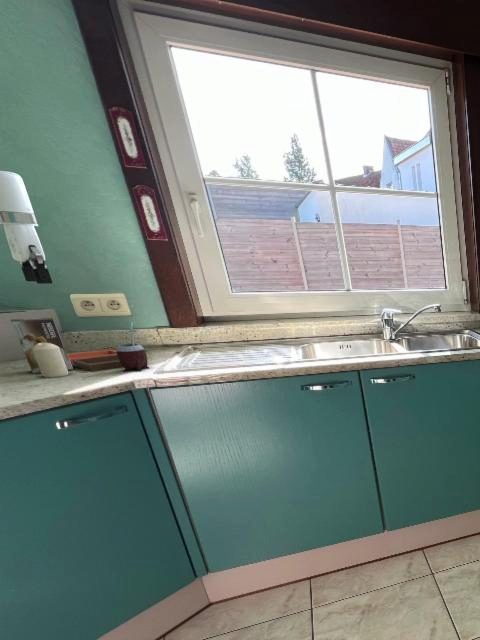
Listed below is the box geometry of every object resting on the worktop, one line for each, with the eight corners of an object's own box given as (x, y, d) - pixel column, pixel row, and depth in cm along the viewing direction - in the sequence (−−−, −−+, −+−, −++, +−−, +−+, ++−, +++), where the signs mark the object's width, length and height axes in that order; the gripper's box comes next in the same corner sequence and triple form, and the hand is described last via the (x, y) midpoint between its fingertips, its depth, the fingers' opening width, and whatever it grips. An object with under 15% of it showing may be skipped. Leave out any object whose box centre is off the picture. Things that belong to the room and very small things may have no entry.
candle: (71, 375, 152) (59, 342, 149) (46, 378, 148) (33, 345, 144) (65, 372, 155) (53, 340, 151) (40, 375, 151) (27, 343, 147)
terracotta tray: (72, 365, 164) (70, 359, 163) (59, 361, 169) (56, 355, 168) (126, 358, 176) (124, 353, 175) (112, 355, 181) (110, 349, 180)
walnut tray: (91, 371, 158) (89, 364, 157) (74, 366, 163) (72, 359, 163) (146, 364, 169) (144, 358, 169) (128, 359, 175) (126, 353, 174)
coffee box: (72, 366, 163) (53, 317, 157) (73, 369, 159) (54, 319, 153) (31, 370, 156) (10, 318, 150) (31, 373, 152) (10, 321, 146)
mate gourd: (126, 372, 157) (111, 325, 152) (118, 369, 161) (102, 322, 156) (155, 369, 163) (141, 323, 158) (146, 365, 167) (132, 320, 162)
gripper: (-12, 218, 141) (12, 280, 148) (6, 218, 133) (30, 284, 140) (26, 220, 147) (47, 280, 154) (46, 221, 140) (67, 284, 146)
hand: (39, 282), depth 147 cm, fingers open, 9 cm apart
